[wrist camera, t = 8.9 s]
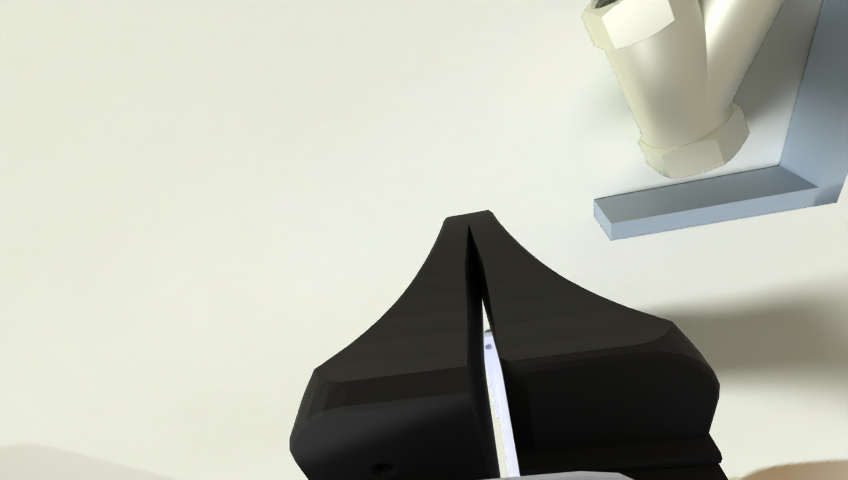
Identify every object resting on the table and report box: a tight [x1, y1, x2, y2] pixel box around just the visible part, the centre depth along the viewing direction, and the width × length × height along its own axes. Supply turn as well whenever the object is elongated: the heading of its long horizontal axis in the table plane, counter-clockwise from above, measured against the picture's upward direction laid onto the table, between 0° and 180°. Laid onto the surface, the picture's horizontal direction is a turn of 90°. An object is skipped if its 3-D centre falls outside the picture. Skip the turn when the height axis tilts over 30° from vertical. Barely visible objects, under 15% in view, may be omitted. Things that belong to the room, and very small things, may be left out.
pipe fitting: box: [581, 0, 784, 179], centre depth 16 cm, size 8×4×7 cm
